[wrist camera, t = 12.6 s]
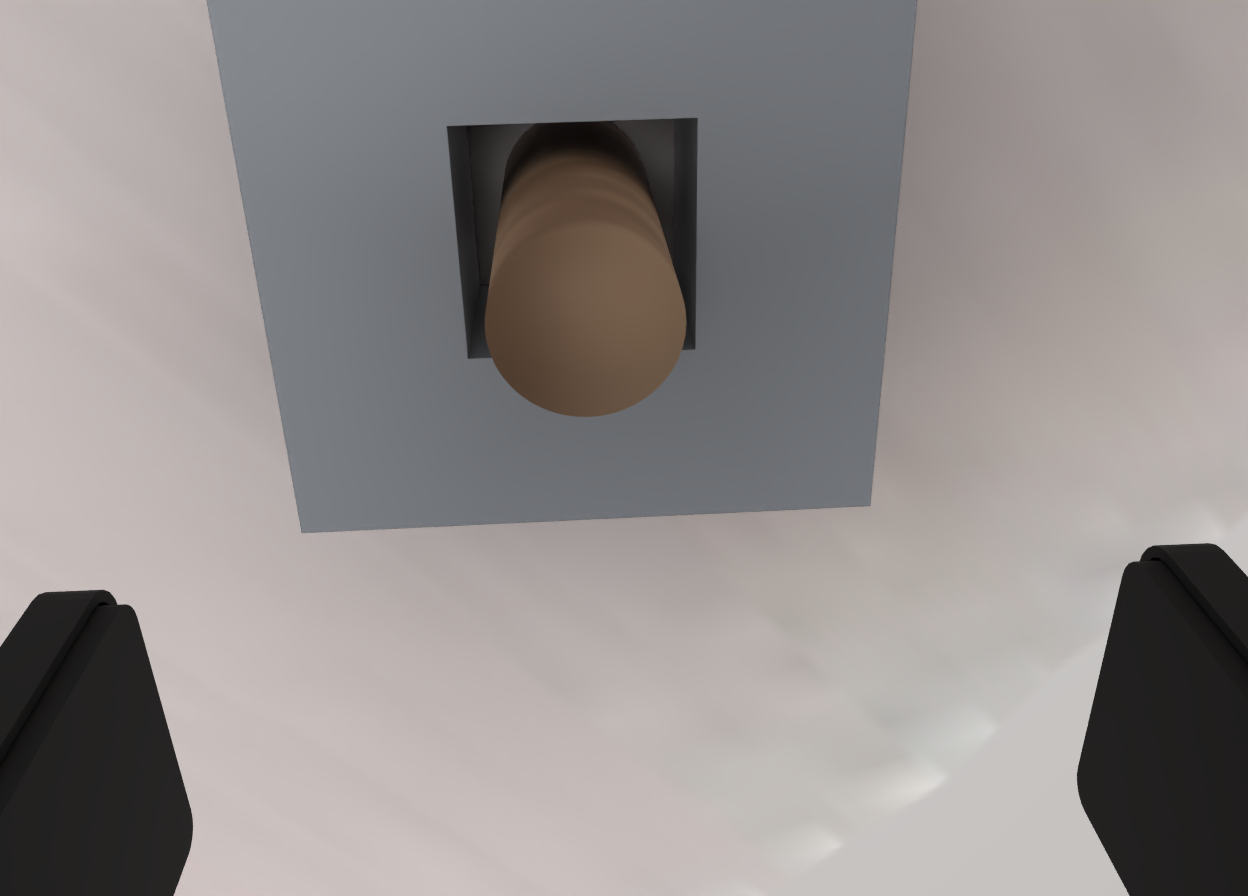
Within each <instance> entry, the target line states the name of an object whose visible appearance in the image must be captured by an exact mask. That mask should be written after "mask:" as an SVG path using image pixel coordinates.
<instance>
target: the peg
mask: <svg viewBox="0 0 1248 896" xmlns="http://www.w3.org/2000/svg"><path fill="white" fill-rule="evenodd" d="M485 334H486V341H487V345H488V348H489V352H490V355H491V357H492V359H493V361H494V364H495V366H496V367H497V369H498V371H499V372H500V374H501V375H502V377H503V378H504V379H505V380H506V382H507V383H508V384H509V385H510V386H511V387H512V388H513V389H514V390H515V391H516V392H517V393H518V394H520V395H521V396H522V397H524V398H525V399H527V400H528V401H529V402H531V403H533V404H535V405H537V406H539V407H541V408H543V409H546V410H548V411H551V412H554V413H558V414H562V415H567V416H574V417H595V416H603V415H608V414H612V413H616V412H619V411H621V410H624V409H627V408H629V407H631V406H633V405H635V404H637V403H639V402H640V401H642V400H643V399H645V398H646V397H648V396H649V395H650V394H651V393H653V392H654V391H655V390H656V389H657V388H658V387H659V386H660V385H661V384H662V383H663V382H664V381H665V380H666V378H667V377H668V375H669V374H670V373H671V371H672V370H673V368H674V366H675V364H676V362H677V361H678V359H679V356H680V353H681V351H682V348H683V344H684V339H685V335H686V309H685V304H684V300H683V296H682V292H681V289H680V286H679V283H678V279H677V276H676V273H675V270H674V266H673V263H672V260H671V256H670V253H669V250H668V247H667V243H666V240H665V237H664V234H663V230H662V227H661V224H660V221H659V217H658V214H657V211H656V207H655V204H654V201H653V198H652V194H651V191H650V188H649V185H648V181H647V178H646V175H645V172H644V168H643V165H642V162H641V159H640V156H639V154H638V152H637V150H636V148H635V146H634V145H633V143H632V142H631V140H630V139H629V138H628V137H627V136H626V135H625V133H624V132H623V131H621V130H620V129H619V128H618V127H617V126H615V125H614V124H612V123H611V122H609V121H584V122H554V123H536V124H535V125H533V126H532V127H531V128H529V129H528V130H527V131H526V132H525V133H524V134H523V135H522V136H521V137H520V139H519V140H518V141H517V142H516V144H515V146H514V147H513V149H512V151H511V153H510V156H509V158H508V161H507V165H506V169H505V176H504V183H503V190H502V198H501V205H500V212H499V219H498V226H497V233H496V241H495V248H494V255H493V262H492V269H491V276H490V283H489V291H488V298H487V305H486V313H485Z"/></svg>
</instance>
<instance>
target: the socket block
mask: <svg viewBox="0 0 1248 896" xmlns="http://www.w3.org/2000/svg"><path fill="white" fill-rule="evenodd" d="M207 5H208V11H209V16H210V22H211V28H212V33H213V39H214V44H215V50H216V56H217V61H218V67H219V72H220V78H221V84H222V89H223V95H224V100H225V106H226V112H227V117H228V123H229V128H230V134H231V140H232V145H233V151H234V156H235V162H236V168H237V173H238V179H239V184H240V190H241V196H242V201H243V207H244V212H245V218H246V224H247V229H248V235H249V240H250V246H251V252H252V257H253V263H254V268H255V274H256V280H257V285H258V291H259V296H260V302H261V308H262V313H263V319H264V324H265V330H266V336H267V341H268V347H269V352H270V358H271V364H272V369H273V375H274V380H275V386H276V392H277V397H278V403H279V408H280V414H281V420H282V425H283V431H284V436H285V442H286V448H287V453H288V459H289V464H290V470H291V476H292V481H293V487H294V492H295V498H296V504H297V509H298V515H299V520H300V526H301V532H302V533H314V532H335V531H356V530H377V529H398V528H419V527H440V526H461V525H483V524H504V523H525V522H546V521H567V520H588V519H609V518H630V517H651V516H672V515H693V514H714V513H735V512H756V511H777V510H798V509H819V508H840V507H861V506H870V503H871V492H872V481H873V470H874V460H875V449H876V438H877V427H878V417H879V406H880V395H881V384H882V373H883V363H884V352H885V341H886V330H887V320H888V309H889V298H890V287H891V276H892V266H893V255H894V244H895V233H896V223H897V212H898V201H899V190H900V179H901V169H902V158H903V147H904V136H905V126H906V115H907V104H908V93H909V82H910V72H911V61H912V50H913V39H914V29H915V18H916V7H917V0H207ZM645 119H674V270H675V273H676V276H677V279H678V283H679V286H680V289H681V292H682V296H683V300H684V304H685V309H686V335H685V339H684V344H683V348H682V351H681V353H680V356H679V359H678V361H677V362H676V364H675V366H674V368H673V370H672V371H671V373H670V374H669V375H668V377H667V378H666V380H665V381H664V382H663V383H662V384H661V385H660V386H659V387H658V388H657V389H656V390H655V391H654V392H653V393H651V394H650V395H649V396H648V397H646V398H645V399H643V400H642V401H640V402H639V403H637V404H635V405H633V406H631V407H629V408H627V409H624V410H621V411H619V412H616V413H612V414H608V415H603V416H595V417H574V416H567V415H562V414H558V413H554V412H551V411H548V410H546V409H543V408H541V407H539V406H537V405H535V404H533V403H531V402H529V401H528V400H527V399H525V398H524V397H522V396H521V395H520V394H518V393H517V392H516V391H515V390H514V389H513V388H512V387H511V386H510V385H509V384H508V383H507V382H506V380H505V379H504V378H503V377H502V375H501V374H500V372H499V371H498V369H497V367H496V366H495V364H494V361H493V359H492V357H491V355H490V352H489V348H488V345H487V341H486V334H485V313H486V305H487V298H488V291H489V285H480V280H479V268H478V256H477V244H476V232H475V220H474V208H473V196H472V184H471V172H470V160H469V148H468V136H467V125H493V124H523V123H554V122H584V121H615V120H645Z"/></svg>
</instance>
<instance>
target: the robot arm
mask: <svg viewBox="0 0 1248 896" xmlns="http://www.w3.org/2000/svg"><path fill="white" fill-rule="evenodd" d="M1077 785H1078V792H1079V796H1080V800H1081V803H1082V806H1083V808H1084V810H1085V812H1086V814H1087V816H1088V818H1089V820H1090V822H1091V824H1092V826H1093V828H1094V829H1095V831H1096V833H1097V835H1098V837H1099V839H1100V841H1101V843H1102V844H1103V846H1104V848H1105V850H1106V852H1107V854H1108V856H1109V858H1110V859H1111V862H1112V863H1113V865H1114V867H1115V869H1116V871H1117V873H1118V875H1119V877H1120V878H1121V880H1122V882H1123V884H1124V886H1125V888H1126V889H1127V892H1128V893H1129V895H1130V896H1248V577H1247V576H1246V574H1245V573H1244V572H1243V571H1242V570H1241V569H1240V568H1239V567H1238V566H1237V565H1236V564H1235V562H1233V560H1232V559H1231V558H1230V557H1229V556H1228V555H1227V554H1226V553H1225V552H1224V551H1223V550H1222V549H1221V548H1220V547H1218V546H1217V545H1214V544H1209V543H1205V544H1181V545H1157V546H1152V547H1149V548H1147V549H1146V551H1145V552H1144V553H1143V554H1142V556H1141V559H1140V561H1138V562H1132V563H1129V564H1128V565H1127V567H1126V568H1125V570H1124V573H1123V576H1122V580H1121V584H1120V588H1119V593H1118V597H1117V601H1116V606H1115V610H1114V614H1113V619H1112V623H1111V627H1110V632H1109V636H1108V640H1107V645H1106V649H1105V653H1104V658H1103V662H1102V666H1101V670H1100V675H1099V679H1098V683H1097V688H1096V692H1095V697H1094V701H1093V705H1092V709H1091V714H1090V718H1089V722H1088V727H1087V731H1086V736H1085V740H1084V744H1083V748H1082V752H1081V757H1080V762H1079V765H1078V772H1077ZM192 834H193V820H192V813H191V808H190V805H189V801H188V798H187V794H186V790H185V787H184V783H183V780H182V776H181V772H180V769H179V765H178V762H177V758H176V755H175V751H174V747H173V744H172V740H171V737H170V733H169V729H168V726H167V722H166V719H165V715H164V712H163V708H162V704H161V701H160V697H159V694H158V690H157V686H156V683H155V679H154V676H153V672H152V669H151V665H150V661H149V658H148V654H147V651H146V647H145V643H144V640H143V636H142V633H141V629H140V626H139V622H138V618H137V616H136V613H135V611H134V610H133V608H132V607H131V606H129V605H117V603H116V600H115V598H114V597H113V596H112V594H111V593H110V592H108V591H105V590H89V591H65V592H45V593H42V594H39V595H38V596H37V597H36V598H35V599H34V600H33V601H32V602H31V603H30V605H29V606H28V608H27V609H26V611H25V612H24V614H23V615H22V616H21V618H20V619H19V621H18V622H17V624H16V625H15V627H14V628H13V629H12V631H11V632H10V634H9V635H8V637H7V638H6V639H5V641H4V642H3V644H2V645H1V647H0V896H173V895H174V893H175V890H176V887H177V885H178V882H179V879H180V876H181V874H182V871H183V868H184V866H185V863H186V860H187V857H188V855H189V851H190V848H191V842H192Z"/></svg>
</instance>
